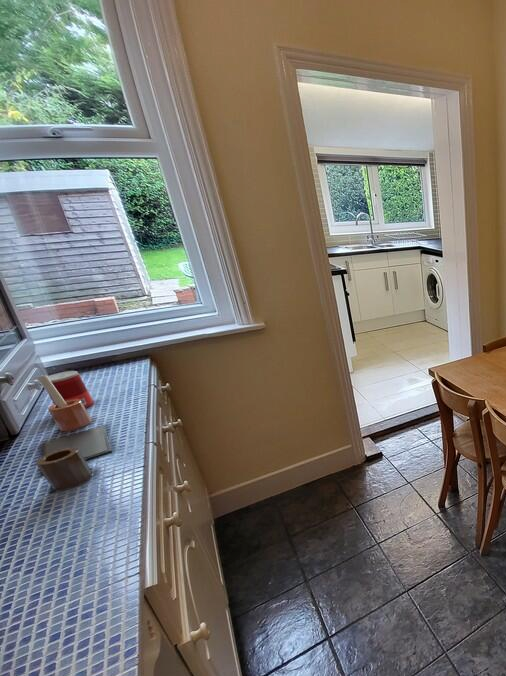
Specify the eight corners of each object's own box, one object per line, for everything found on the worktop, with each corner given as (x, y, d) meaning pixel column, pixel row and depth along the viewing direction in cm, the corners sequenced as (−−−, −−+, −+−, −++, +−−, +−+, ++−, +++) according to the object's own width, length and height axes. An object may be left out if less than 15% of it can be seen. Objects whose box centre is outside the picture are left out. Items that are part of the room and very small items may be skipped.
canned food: (100, 400, 130) (83, 368, 125) (85, 411, 123) (66, 378, 118) (70, 405, 128) (52, 373, 123) (53, 417, 121) (33, 383, 116)
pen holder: (54, 433, 111) (40, 411, 108) (74, 422, 117) (62, 400, 114) (80, 431, 112) (67, 408, 109) (98, 419, 118) (86, 398, 115)
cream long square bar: (70, 427, 113) (35, 378, 109) (76, 425, 114) (42, 376, 110) (76, 425, 113) (41, 376, 109) (82, 423, 114) (48, 374, 110)
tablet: (113, 453, 100) (111, 450, 100) (43, 477, 92) (40, 473, 92) (105, 427, 113) (103, 424, 113) (43, 446, 105) (41, 443, 105)
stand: (45, 493, 87) (27, 466, 84) (70, 475, 93) (54, 449, 90) (77, 489, 87) (60, 462, 85) (101, 471, 93) (86, 445, 90)
